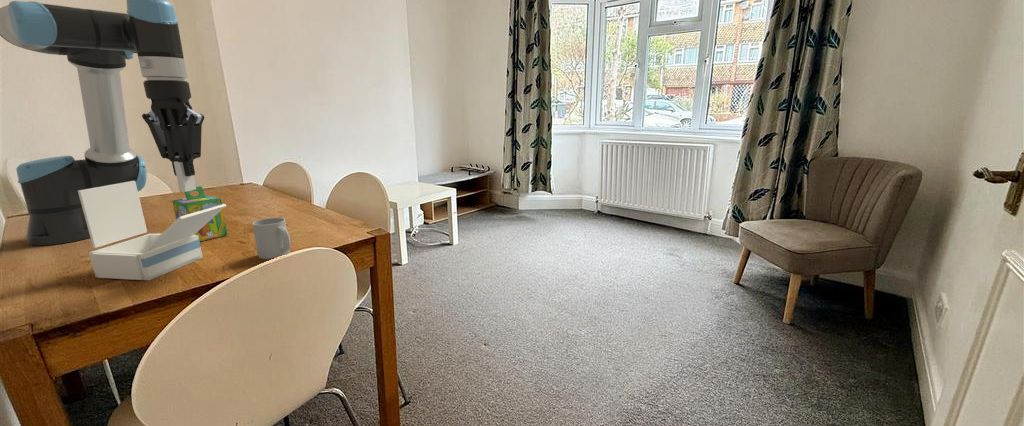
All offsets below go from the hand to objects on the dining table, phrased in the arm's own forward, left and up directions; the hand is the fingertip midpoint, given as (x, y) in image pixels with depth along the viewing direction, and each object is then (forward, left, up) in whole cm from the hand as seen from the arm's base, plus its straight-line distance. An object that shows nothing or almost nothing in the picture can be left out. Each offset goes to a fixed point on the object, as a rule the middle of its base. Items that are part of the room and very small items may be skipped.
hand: (188, 190), depth 95 cm
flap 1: (-18, -10, -12) cm, 24 cm away
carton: (-12, -7, -19) cm, 24 cm away
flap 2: (-6, -4, -12) cm, 14 cm away
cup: (+4, +15, -19) cm, 25 cm away
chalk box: (-30, +9, -19) cm, 37 cm away
